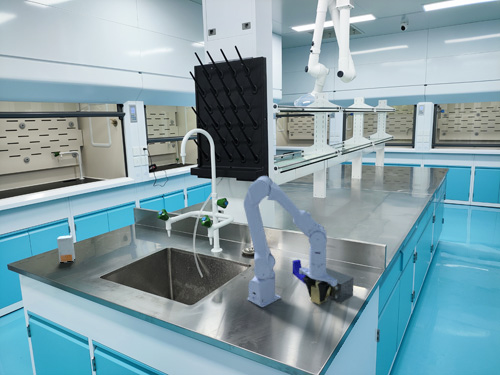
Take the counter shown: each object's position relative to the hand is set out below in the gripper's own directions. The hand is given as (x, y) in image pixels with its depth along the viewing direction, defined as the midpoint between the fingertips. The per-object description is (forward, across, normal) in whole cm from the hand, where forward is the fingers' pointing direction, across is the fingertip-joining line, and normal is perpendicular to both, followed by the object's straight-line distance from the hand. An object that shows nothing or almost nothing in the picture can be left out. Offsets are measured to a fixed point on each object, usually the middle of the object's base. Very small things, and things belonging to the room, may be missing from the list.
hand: (317, 298), depth 121 cm
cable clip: (+2, +15, -12) cm, 20 cm away
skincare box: (+2, +107, +51) cm, 119 cm away
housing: (+2, 0, -9) cm, 10 cm away
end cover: (+1, 0, -4) cm, 4 cm away
